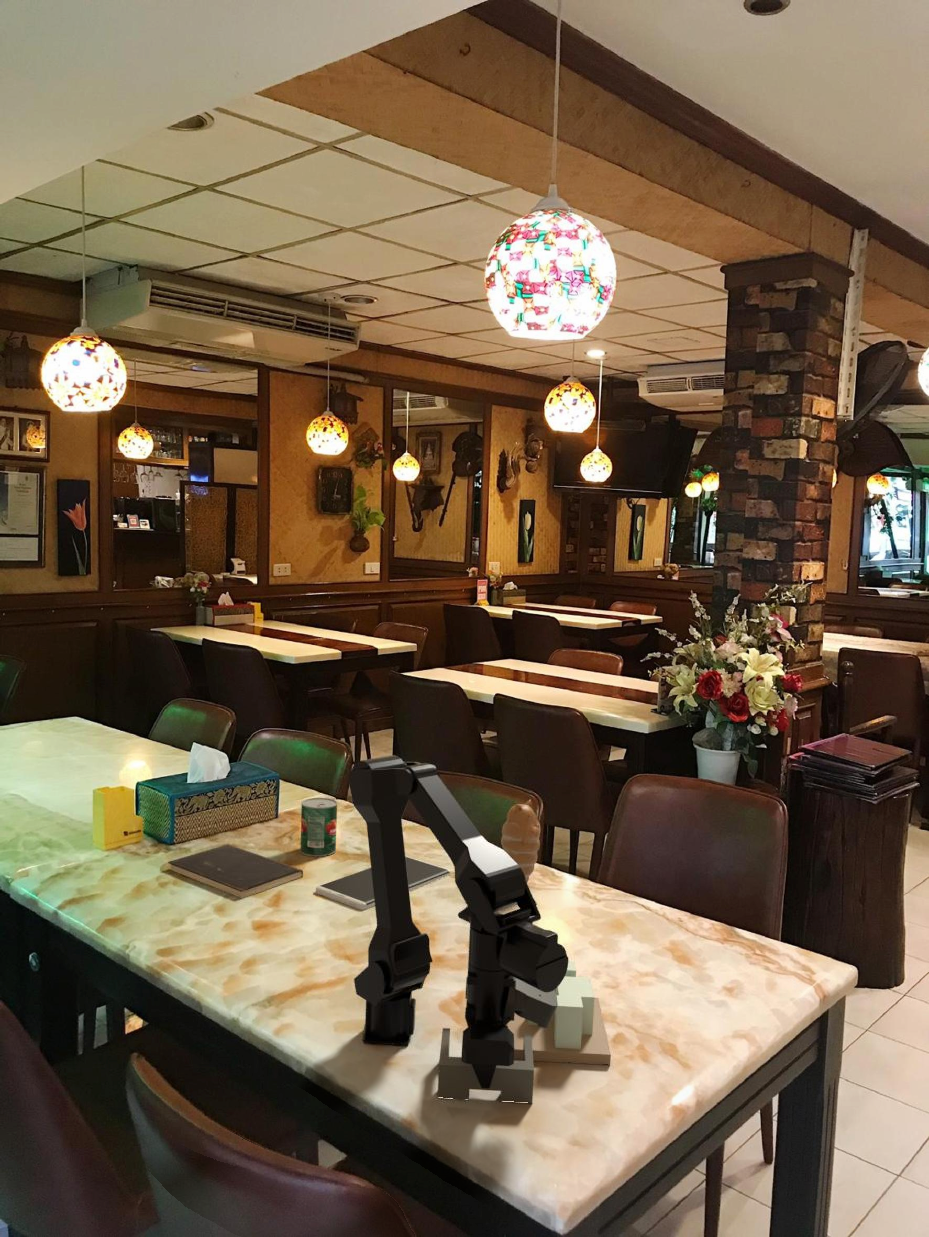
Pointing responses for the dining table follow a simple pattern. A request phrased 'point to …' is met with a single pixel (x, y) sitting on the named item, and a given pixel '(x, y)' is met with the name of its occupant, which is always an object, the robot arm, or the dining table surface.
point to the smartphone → (360, 885)
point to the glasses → (507, 1079)
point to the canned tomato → (318, 827)
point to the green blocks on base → (567, 1026)
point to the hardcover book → (235, 870)
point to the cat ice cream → (522, 837)
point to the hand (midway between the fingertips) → (485, 1079)
